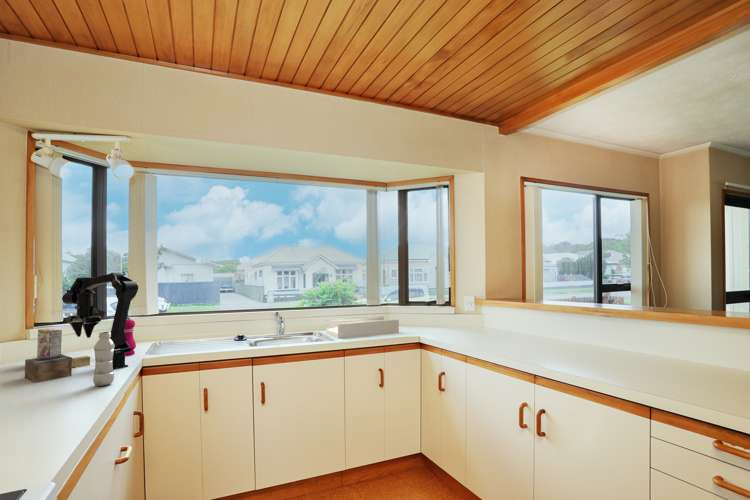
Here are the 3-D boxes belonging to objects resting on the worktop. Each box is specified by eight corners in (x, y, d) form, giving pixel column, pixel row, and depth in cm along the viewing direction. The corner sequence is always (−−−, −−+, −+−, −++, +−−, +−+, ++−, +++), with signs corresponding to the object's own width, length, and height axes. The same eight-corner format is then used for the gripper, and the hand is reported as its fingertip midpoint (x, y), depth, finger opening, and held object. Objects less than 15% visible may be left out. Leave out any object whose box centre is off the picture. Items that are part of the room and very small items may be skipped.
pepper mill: (127, 356, 196) (128, 317, 197) (115, 356, 198) (117, 317, 199) (139, 353, 203) (140, 315, 205) (127, 353, 205) (128, 315, 206)
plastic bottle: (118, 383, 149) (119, 331, 150) (100, 388, 142) (102, 334, 143) (106, 382, 151) (107, 330, 152) (88, 387, 144) (90, 333, 145)
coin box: (60, 371, 167) (61, 354, 168) (71, 375, 161) (71, 357, 161) (24, 378, 157) (25, 359, 158) (34, 382, 151) (35, 363, 151)
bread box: (338, 339, 245) (338, 324, 245) (326, 334, 265) (326, 320, 265) (398, 333, 265) (398, 319, 266) (383, 329, 285) (383, 316, 285)
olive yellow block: (86, 364, 181) (86, 355, 181) (90, 365, 179) (90, 356, 179) (71, 367, 176) (71, 358, 176) (74, 368, 174) (74, 359, 174)
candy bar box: (35, 364, 181) (37, 329, 182) (48, 362, 186) (49, 327, 187) (48, 366, 177) (50, 330, 178) (61, 364, 181) (62, 329, 182)
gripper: (113, 302, 183) (112, 335, 183) (93, 302, 193) (93, 333, 192) (86, 304, 174) (86, 339, 173) (67, 304, 183) (66, 337, 182)
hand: (83, 337), depth 180 cm, fingers open, 9 cm apart
